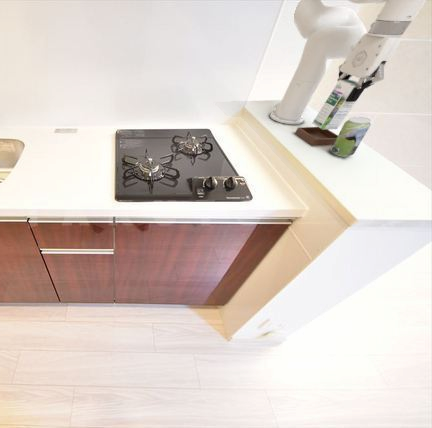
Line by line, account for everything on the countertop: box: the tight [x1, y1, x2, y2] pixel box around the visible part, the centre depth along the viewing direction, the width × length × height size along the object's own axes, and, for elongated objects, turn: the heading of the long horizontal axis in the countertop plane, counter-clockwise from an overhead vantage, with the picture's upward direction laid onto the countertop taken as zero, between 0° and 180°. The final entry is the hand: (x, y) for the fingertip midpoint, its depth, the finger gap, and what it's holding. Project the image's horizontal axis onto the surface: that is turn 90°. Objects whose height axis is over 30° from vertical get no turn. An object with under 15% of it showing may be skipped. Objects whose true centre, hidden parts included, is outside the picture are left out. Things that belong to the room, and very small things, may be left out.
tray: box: [294, 126, 339, 147], centre depth 86 cm, size 10×10×2 cm
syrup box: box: [311, 79, 366, 130], centre depth 78 cm, size 6×6×14 cm
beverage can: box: [330, 116, 371, 157], centre depth 75 cm, size 6×7×12 cm
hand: (343, 97), depth 76 cm, fingers closed on syrup box, 5 cm apart
